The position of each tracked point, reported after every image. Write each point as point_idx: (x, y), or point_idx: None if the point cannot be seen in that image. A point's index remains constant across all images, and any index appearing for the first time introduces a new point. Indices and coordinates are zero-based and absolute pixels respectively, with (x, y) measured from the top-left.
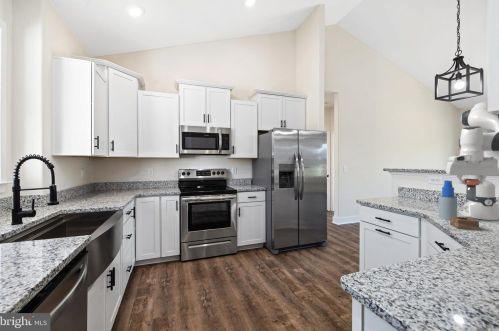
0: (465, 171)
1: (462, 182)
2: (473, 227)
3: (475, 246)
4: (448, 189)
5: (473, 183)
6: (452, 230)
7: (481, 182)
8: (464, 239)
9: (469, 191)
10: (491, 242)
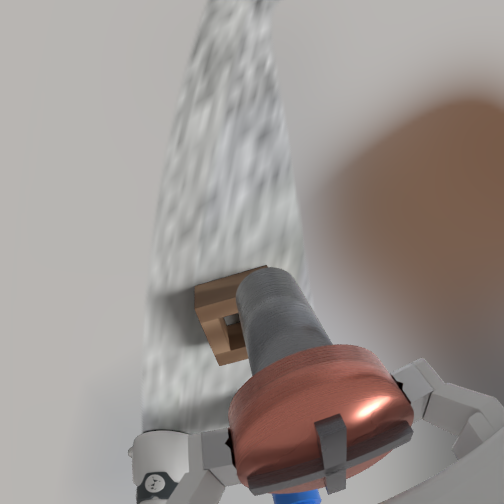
0: (500, 499)
1: (421, 370)
2: (213, 286)
3: (257, 19)
4: (301, 493)
5: (323, 365)
6: (293, 226)
7: (206, 448)
8: (276, 95)
9: (309, 316)
10: (185, 106)
